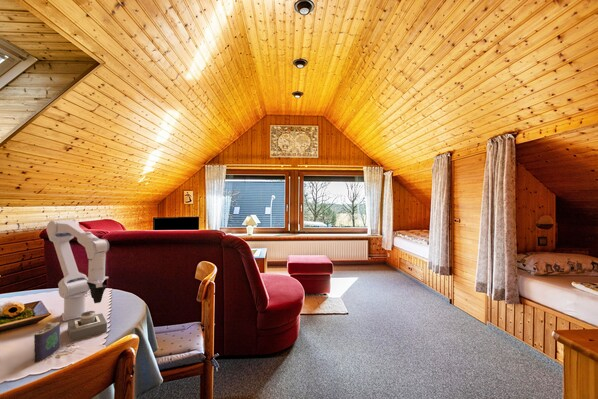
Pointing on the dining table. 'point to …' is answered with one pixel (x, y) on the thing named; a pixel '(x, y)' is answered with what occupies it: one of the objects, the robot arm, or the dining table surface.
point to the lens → (87, 317)
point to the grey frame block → (86, 328)
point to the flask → (47, 341)
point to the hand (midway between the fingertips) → (96, 300)
